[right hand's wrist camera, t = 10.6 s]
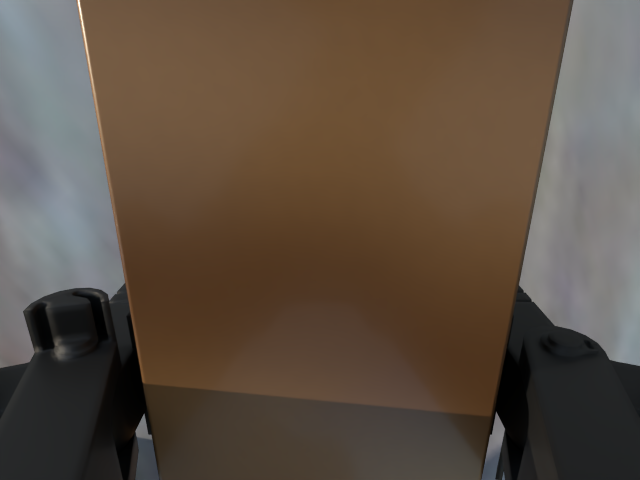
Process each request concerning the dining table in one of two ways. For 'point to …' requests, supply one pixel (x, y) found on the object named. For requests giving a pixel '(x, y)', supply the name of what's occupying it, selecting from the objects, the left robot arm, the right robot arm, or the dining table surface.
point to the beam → (322, 222)
